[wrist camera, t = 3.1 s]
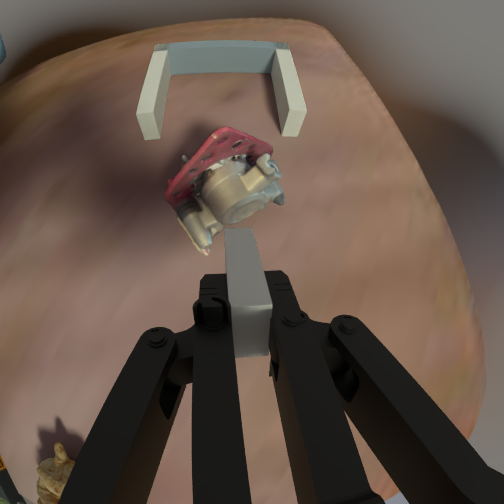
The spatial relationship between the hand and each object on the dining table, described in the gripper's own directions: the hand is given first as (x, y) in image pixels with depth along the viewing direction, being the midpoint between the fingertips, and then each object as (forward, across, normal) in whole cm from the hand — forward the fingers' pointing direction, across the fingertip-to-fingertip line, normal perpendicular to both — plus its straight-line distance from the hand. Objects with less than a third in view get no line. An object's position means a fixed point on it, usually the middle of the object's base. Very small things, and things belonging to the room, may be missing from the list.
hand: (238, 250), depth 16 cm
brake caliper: (+16, -1, -2) cm, 16 cm away
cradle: (+26, -1, +9) cm, 28 cm away
